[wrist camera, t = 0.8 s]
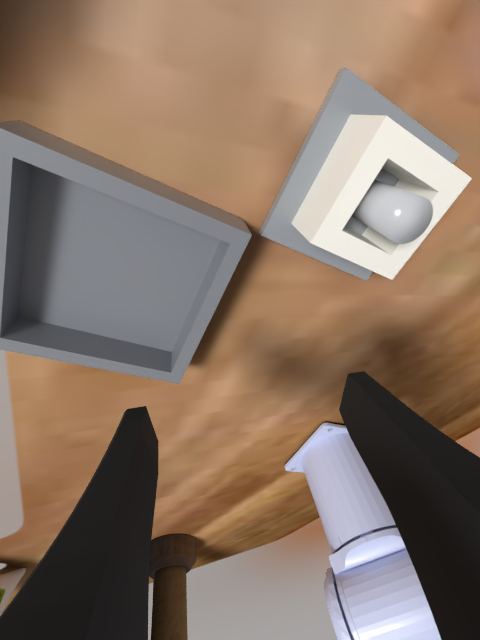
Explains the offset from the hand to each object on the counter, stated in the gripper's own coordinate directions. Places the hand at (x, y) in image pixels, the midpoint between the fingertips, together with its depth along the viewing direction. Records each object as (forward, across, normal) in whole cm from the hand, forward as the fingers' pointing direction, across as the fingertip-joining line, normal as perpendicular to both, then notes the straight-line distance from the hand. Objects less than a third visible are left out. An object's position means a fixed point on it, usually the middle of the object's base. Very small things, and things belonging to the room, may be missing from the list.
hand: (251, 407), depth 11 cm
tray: (+10, +6, -2) cm, 11 cm away
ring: (+9, -8, -5) cm, 13 cm away
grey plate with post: (+10, -8, -5) cm, 13 cm away
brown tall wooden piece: (+10, +10, +38) cm, 41 cm away
